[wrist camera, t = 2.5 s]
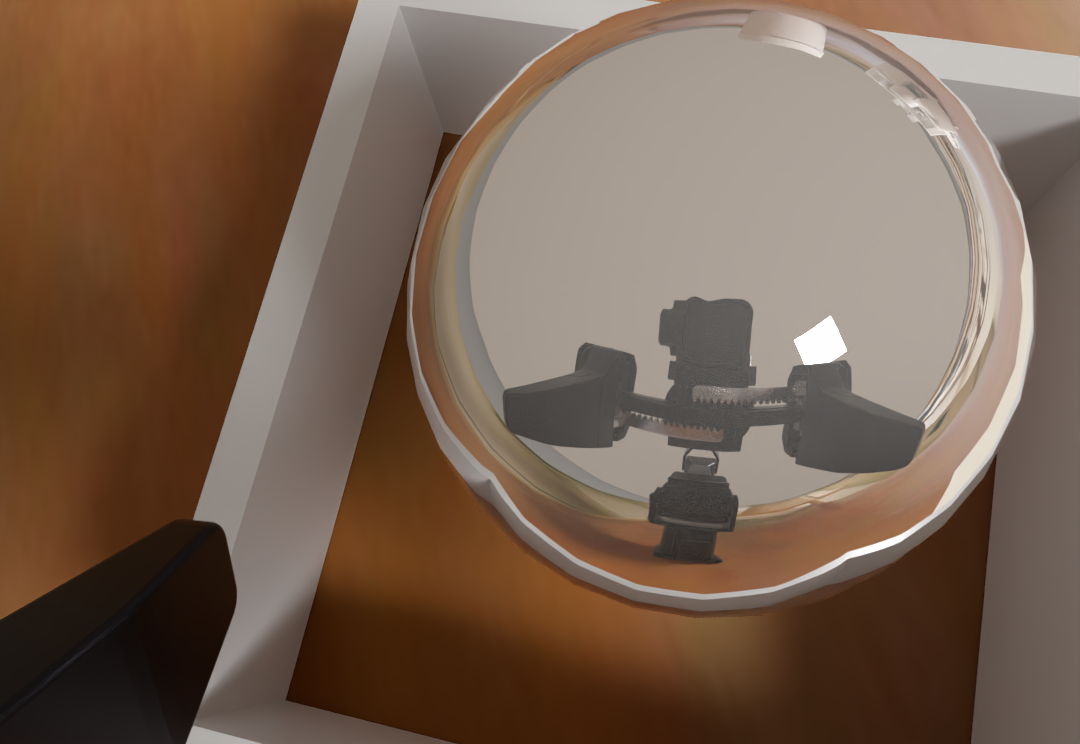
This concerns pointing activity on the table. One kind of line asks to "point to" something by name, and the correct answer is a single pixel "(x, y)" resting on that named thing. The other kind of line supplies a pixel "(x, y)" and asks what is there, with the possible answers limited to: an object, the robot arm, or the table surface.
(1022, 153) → the grey box
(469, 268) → the light bulb
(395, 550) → the table surface
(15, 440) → the table surface
